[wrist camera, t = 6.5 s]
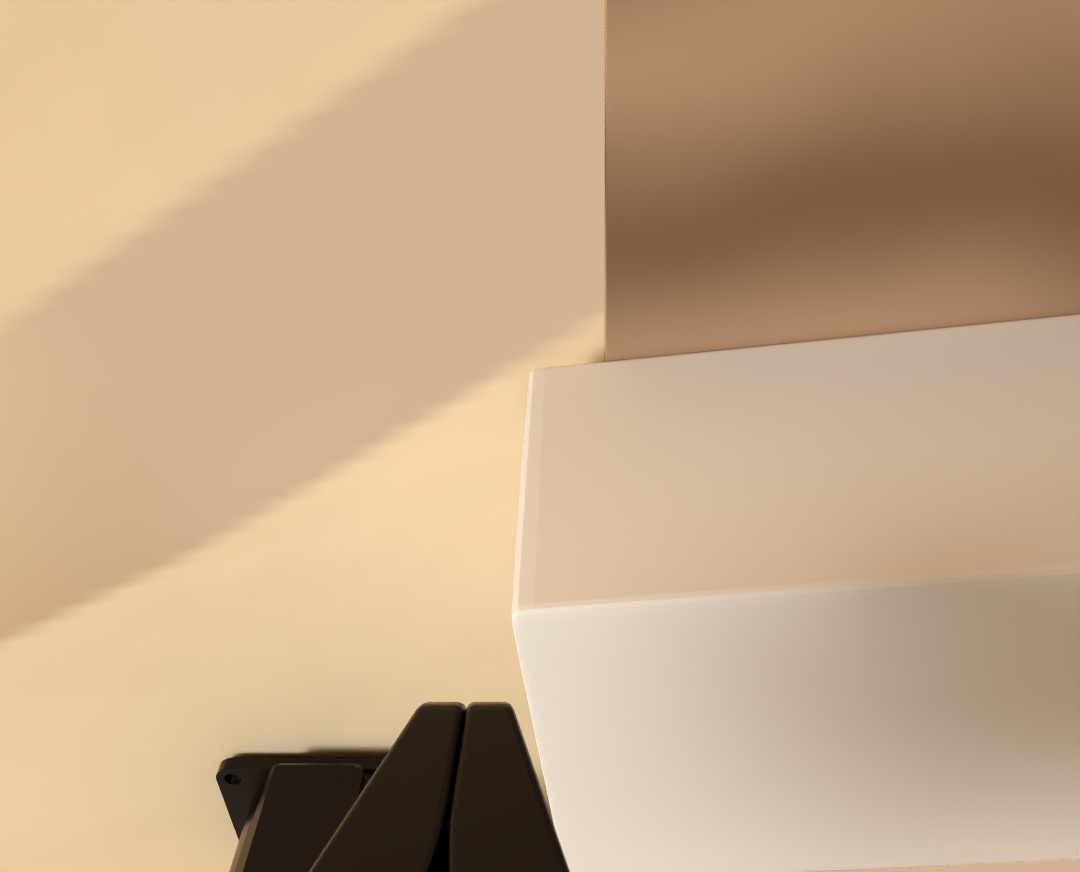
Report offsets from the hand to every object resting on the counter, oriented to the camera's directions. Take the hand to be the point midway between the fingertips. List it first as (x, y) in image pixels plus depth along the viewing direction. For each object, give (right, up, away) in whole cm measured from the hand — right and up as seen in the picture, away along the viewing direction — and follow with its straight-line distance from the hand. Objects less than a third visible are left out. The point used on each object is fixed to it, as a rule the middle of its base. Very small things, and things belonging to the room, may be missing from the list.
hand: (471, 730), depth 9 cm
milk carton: (0, -1, +10) cm, 10 cm away
